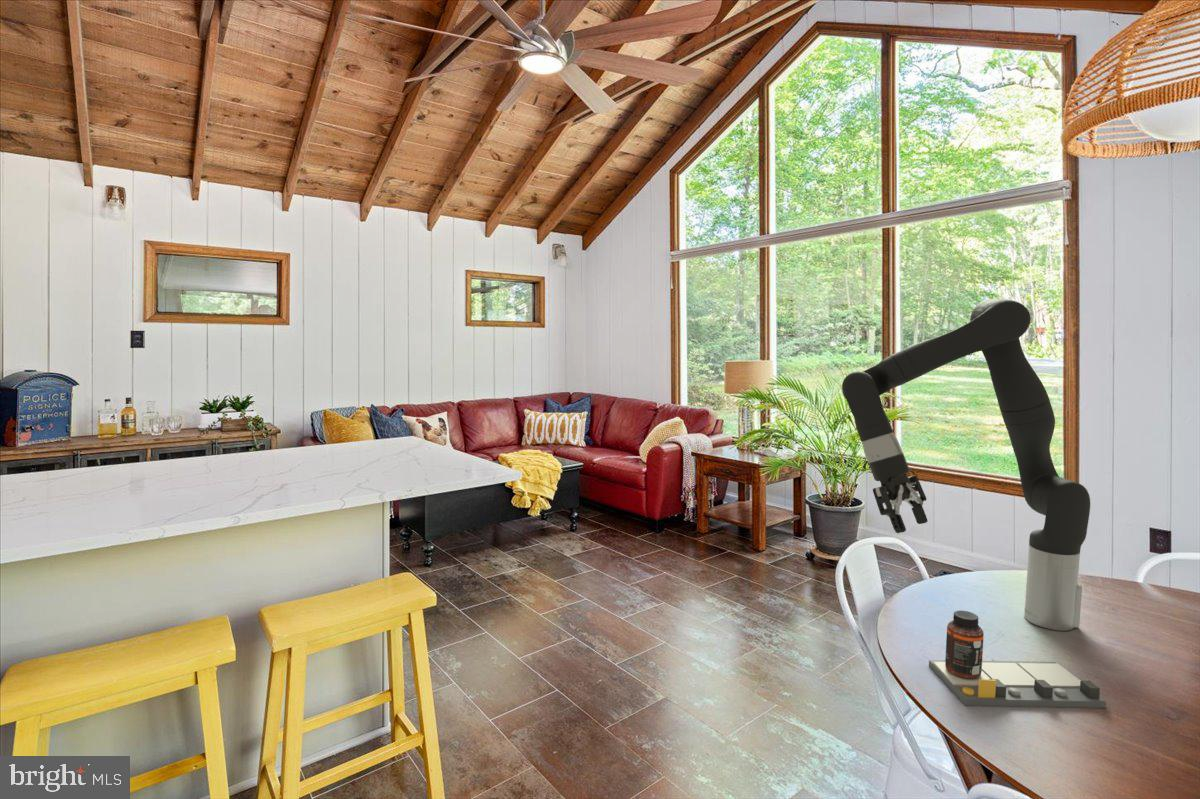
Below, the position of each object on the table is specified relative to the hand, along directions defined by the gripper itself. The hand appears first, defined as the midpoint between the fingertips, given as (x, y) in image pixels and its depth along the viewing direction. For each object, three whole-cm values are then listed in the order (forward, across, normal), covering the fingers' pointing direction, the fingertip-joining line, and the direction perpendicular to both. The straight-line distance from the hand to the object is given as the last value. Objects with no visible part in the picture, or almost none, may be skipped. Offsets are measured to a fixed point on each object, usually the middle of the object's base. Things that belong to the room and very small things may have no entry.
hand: (912, 527), depth 134 cm
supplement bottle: (+26, -12, -7) cm, 30 cm away
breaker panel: (+30, -7, -12) cm, 33 cm away
